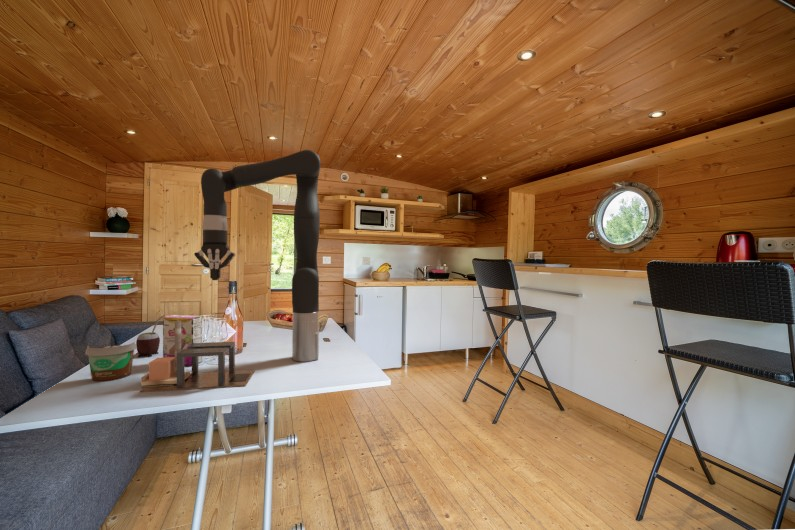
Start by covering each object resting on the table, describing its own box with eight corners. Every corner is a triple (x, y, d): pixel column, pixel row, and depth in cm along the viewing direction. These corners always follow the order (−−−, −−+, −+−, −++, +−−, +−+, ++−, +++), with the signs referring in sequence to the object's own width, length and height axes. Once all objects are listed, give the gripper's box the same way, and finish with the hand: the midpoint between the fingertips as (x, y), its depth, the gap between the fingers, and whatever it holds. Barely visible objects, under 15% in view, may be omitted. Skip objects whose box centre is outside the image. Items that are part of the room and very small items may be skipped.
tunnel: (255, 371, 112) (255, 340, 112) (245, 386, 99) (245, 351, 99) (162, 375, 107) (162, 343, 107) (139, 392, 94) (139, 355, 94)
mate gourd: (134, 355, 128) (134, 315, 128) (159, 351, 134) (159, 312, 134) (139, 359, 124) (139, 317, 123) (165, 354, 130) (165, 314, 129)
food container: (78, 385, 98) (78, 350, 98) (86, 379, 104) (85, 345, 103) (132, 379, 104) (132, 346, 104) (136, 373, 109) (136, 341, 109)
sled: (190, 375, 106) (190, 318, 105) (180, 383, 99) (180, 323, 98) (153, 376, 104) (153, 319, 103) (141, 385, 97) (140, 324, 96)
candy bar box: (161, 365, 117) (161, 316, 117) (172, 360, 122) (172, 314, 122) (192, 366, 116) (192, 317, 116) (202, 362, 121) (202, 315, 121)
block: (176, 373, 104) (176, 356, 104) (168, 379, 99) (168, 361, 99) (157, 374, 103) (157, 357, 103) (149, 380, 98) (148, 362, 98)
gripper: (238, 230, 123) (238, 279, 124) (198, 229, 121) (198, 279, 121) (233, 229, 116) (233, 280, 116) (189, 228, 113) (189, 280, 114)
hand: (215, 280), depth 119 cm, fingers closed
